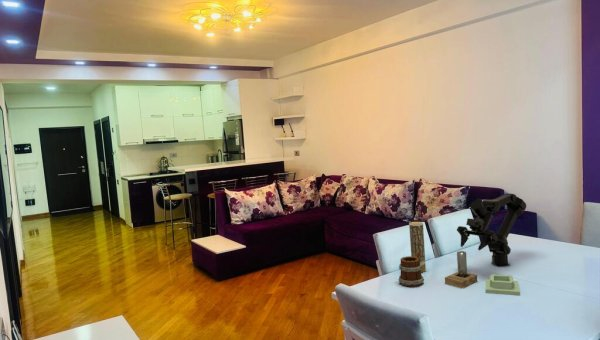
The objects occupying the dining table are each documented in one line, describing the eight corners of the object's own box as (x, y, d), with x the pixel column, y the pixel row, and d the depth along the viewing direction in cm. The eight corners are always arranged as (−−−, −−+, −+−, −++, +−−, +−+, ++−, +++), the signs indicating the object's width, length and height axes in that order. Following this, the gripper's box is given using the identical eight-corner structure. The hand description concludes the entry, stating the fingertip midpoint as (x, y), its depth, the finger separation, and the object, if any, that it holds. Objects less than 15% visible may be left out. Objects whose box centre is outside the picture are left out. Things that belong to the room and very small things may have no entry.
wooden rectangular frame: (459, 277, 197) (459, 270, 197) (477, 281, 190) (477, 275, 190) (445, 283, 190) (444, 277, 190) (462, 288, 183) (462, 282, 183)
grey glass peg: (465, 279, 193) (463, 250, 192) (469, 282, 189) (467, 253, 188) (457, 280, 193) (455, 251, 192) (460, 283, 189) (459, 254, 188)
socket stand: (485, 282, 188) (485, 272, 188) (517, 284, 183) (517, 274, 182) (485, 292, 176) (485, 282, 176) (519, 295, 171) (519, 284, 171)
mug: (393, 284, 193) (393, 253, 194) (406, 280, 204) (407, 250, 205) (416, 289, 186) (416, 256, 187) (429, 284, 196) (429, 253, 197)
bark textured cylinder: (426, 273, 206) (423, 224, 204) (412, 273, 208) (409, 224, 206) (425, 268, 213) (422, 221, 211) (411, 268, 214) (408, 222, 212)
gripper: (458, 210, 205) (445, 235, 199) (493, 214, 189) (480, 241, 184) (468, 223, 210) (455, 248, 204) (503, 228, 194) (491, 255, 189)
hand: (469, 248), depth 195 cm, fingers open, 9 cm apart
